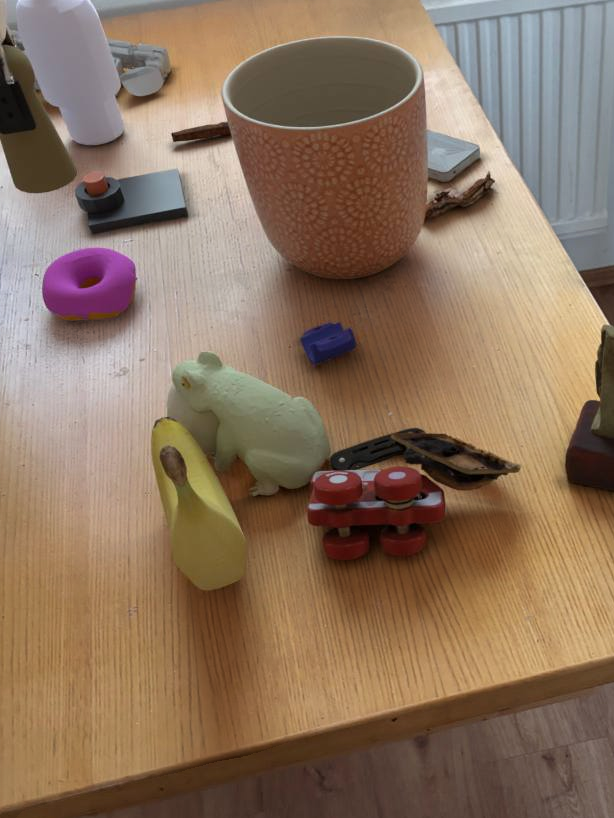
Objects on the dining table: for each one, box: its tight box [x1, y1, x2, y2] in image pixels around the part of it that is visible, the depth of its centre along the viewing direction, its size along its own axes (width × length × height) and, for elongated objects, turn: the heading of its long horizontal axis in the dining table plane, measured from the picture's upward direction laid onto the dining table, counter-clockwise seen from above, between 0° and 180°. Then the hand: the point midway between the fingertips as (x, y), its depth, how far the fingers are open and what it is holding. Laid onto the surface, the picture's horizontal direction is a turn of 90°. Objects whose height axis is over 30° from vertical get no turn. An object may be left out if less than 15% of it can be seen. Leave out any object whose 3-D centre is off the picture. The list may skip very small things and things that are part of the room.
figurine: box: [166, 350, 332, 497], centre depth 86 cm, size 10×16×10 cm, turn 64°
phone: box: [427, 129, 481, 183], centre depth 122 cm, size 8×16×1 cm, turn 55°
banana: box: [150, 416, 247, 591], centre depth 75 cm, size 26×6×13 cm
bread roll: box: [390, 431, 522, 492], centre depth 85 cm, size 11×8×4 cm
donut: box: [41, 246, 138, 321], centre depth 104 cm, size 10×10×5 cm
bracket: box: [299, 321, 357, 367], centre depth 97 cm, size 9×5×3 cm, turn 25°
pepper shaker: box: [0, 45, 78, 194], centre depth 84 cm, size 6×6×11 cm
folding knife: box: [329, 427, 427, 471], centre depth 89 cm, size 10×1×3 cm
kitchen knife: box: [170, 121, 231, 143], centre depth 129 cm, size 21×2×5 cm
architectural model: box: [10, 29, 172, 99], centre depth 137 cm, size 12×25×5 cm, turn 85°
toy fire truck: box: [306, 465, 446, 561], centre depth 82 cm, size 7×12×10 cm
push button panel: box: [74, 168, 189, 235], centre depth 117 cm, size 13×10×3 cm
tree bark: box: [425, 170, 496, 218], centre depth 115 cm, size 6×12×2 cm, turn 132°
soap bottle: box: [15, 0, 125, 146], centre depth 119 cm, size 10×10×24 cm
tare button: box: [82, 171, 109, 195], centre depth 115 cm, size 3×3×2 cm
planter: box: [220, 35, 429, 280], centre depth 102 cm, size 21×21×19 cm
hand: (18, 113), depth 84 cm, fingers closed on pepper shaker, 5 cm apart
